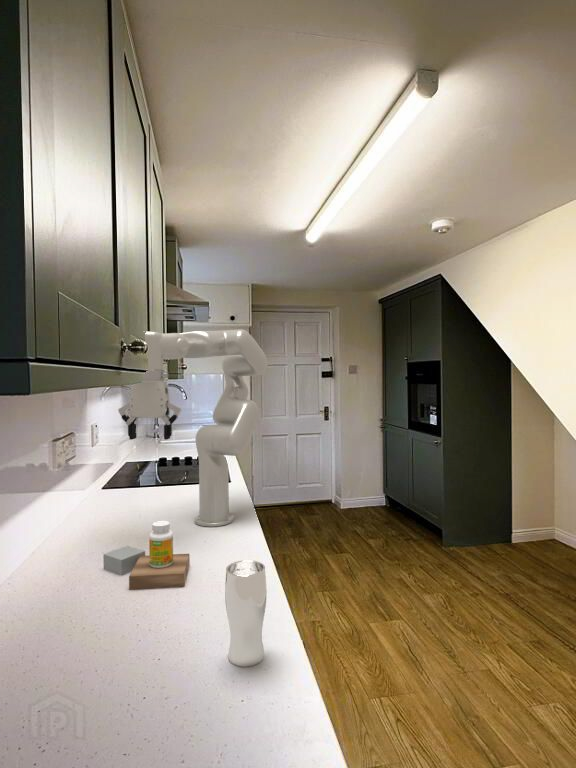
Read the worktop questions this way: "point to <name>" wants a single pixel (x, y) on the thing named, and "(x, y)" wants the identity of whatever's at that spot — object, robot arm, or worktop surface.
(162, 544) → the supplement bottle
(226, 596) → the beer glass
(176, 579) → the walnut block
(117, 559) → the slate block
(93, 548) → the worktop surface
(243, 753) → the worktop surface
